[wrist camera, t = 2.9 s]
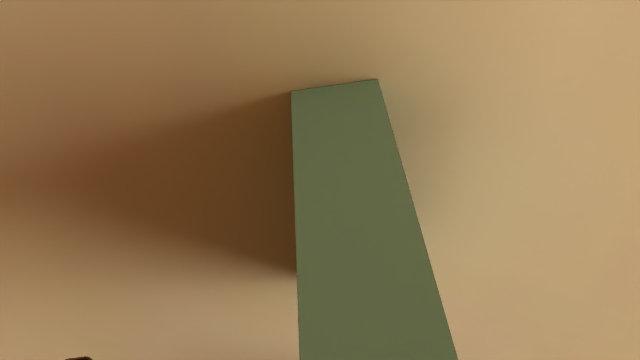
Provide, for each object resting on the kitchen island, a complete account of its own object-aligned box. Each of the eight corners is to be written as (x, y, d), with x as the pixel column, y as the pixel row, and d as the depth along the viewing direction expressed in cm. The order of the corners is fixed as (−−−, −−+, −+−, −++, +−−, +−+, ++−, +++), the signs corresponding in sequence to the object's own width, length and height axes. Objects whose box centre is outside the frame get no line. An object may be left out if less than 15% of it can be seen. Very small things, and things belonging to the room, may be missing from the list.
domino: (392, 271, 14) (497, 764, 7) (324, 280, 14) (365, 776, 7) (377, 78, 11) (529, 612, 4) (290, 91, 11) (308, 638, 4)
